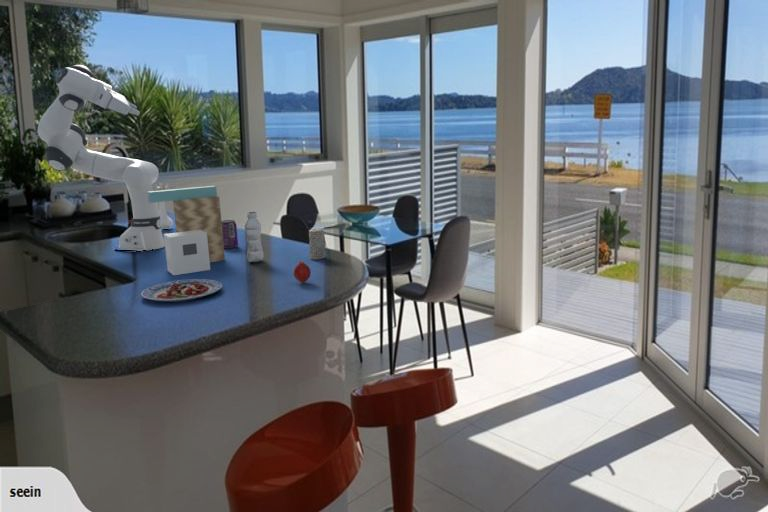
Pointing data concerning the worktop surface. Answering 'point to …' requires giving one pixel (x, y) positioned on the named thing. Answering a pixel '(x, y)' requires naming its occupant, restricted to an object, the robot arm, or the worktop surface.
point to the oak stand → (202, 222)
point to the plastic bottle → (253, 238)
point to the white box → (187, 252)
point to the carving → (317, 244)
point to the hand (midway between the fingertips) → (137, 111)
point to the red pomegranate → (302, 272)
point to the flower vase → (164, 218)
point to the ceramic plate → (181, 290)
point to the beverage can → (229, 233)
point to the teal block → (182, 194)
